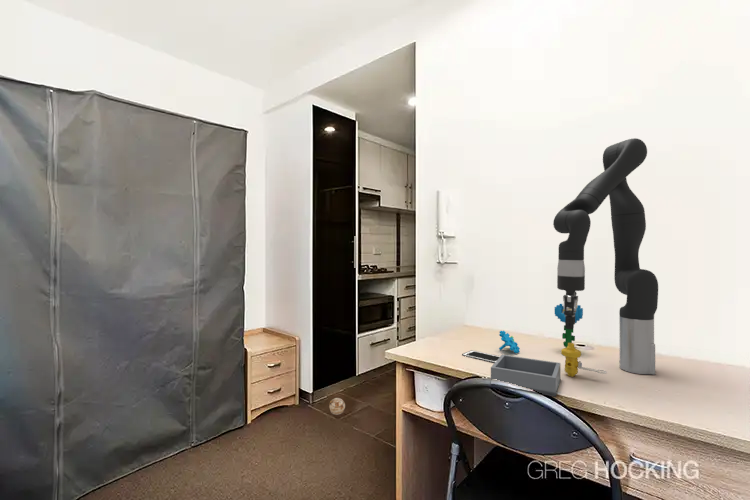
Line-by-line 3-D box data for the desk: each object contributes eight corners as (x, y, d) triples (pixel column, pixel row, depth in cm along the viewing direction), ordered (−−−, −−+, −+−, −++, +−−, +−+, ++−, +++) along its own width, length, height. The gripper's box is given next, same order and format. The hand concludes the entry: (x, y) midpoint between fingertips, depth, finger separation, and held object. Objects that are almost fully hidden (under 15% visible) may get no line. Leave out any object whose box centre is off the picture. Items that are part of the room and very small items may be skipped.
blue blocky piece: (518, 354, 132) (498, 332, 136) (506, 363, 135) (487, 341, 138) (524, 347, 142) (506, 326, 145) (512, 355, 144) (495, 335, 148)
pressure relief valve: (564, 371, 116) (564, 340, 116) (608, 380, 109) (608, 346, 109) (560, 376, 112) (560, 343, 112) (605, 385, 104) (605, 350, 104)
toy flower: (579, 357, 131) (579, 308, 131) (552, 353, 137) (552, 305, 137) (584, 351, 138) (584, 305, 138) (558, 347, 144) (558, 302, 144)
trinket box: (338, 404, 283) (338, 394, 283) (350, 411, 271) (350, 400, 271) (324, 409, 274) (324, 399, 274) (335, 416, 263) (335, 405, 263)
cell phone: (498, 365, 124) (498, 362, 124) (460, 356, 134) (460, 354, 134) (508, 360, 129) (508, 358, 129) (471, 352, 139) (471, 349, 139)
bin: (560, 379, 109) (560, 362, 109) (555, 396, 96) (555, 378, 96) (502, 369, 118) (502, 354, 118) (490, 384, 105) (490, 367, 105)
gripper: (584, 276, 105) (583, 332, 105) (585, 273, 117) (584, 324, 117) (555, 275, 109) (554, 329, 109) (559, 272, 121) (559, 321, 121)
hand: (570, 326), depth 113 cm, fingers open, 8 cm apart
